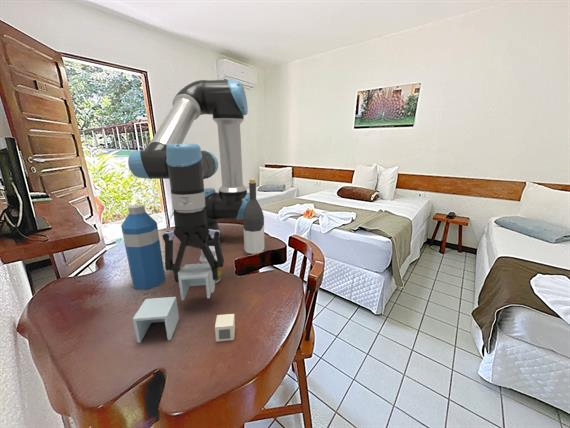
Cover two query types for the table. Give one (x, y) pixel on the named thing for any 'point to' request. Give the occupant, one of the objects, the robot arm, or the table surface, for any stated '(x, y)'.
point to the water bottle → (143, 248)
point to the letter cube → (225, 327)
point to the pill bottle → (204, 260)
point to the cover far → (194, 278)
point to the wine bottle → (253, 223)
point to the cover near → (156, 316)
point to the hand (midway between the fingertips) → (198, 290)
